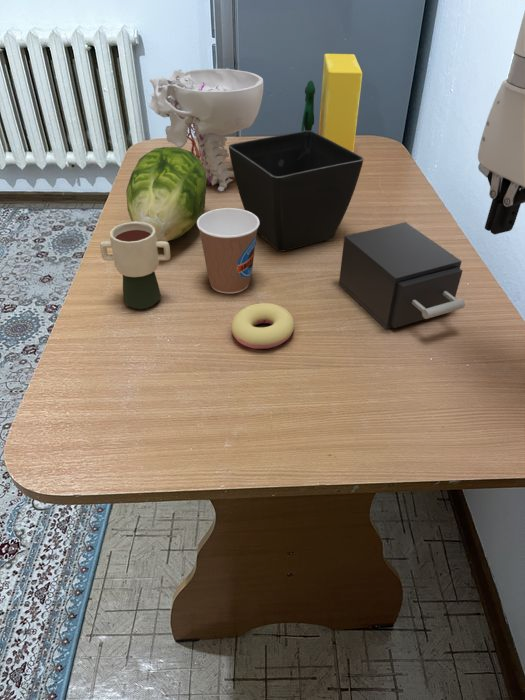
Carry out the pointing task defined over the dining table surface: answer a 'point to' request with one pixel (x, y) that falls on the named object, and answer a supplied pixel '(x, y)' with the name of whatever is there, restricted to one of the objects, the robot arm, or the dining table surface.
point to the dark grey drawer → (426, 297)
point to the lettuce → (167, 191)
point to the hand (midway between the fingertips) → (497, 229)
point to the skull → (208, 112)
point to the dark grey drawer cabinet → (388, 265)
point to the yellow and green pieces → (336, 100)
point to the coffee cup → (228, 247)
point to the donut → (267, 335)
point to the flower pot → (295, 186)
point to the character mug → (136, 261)
